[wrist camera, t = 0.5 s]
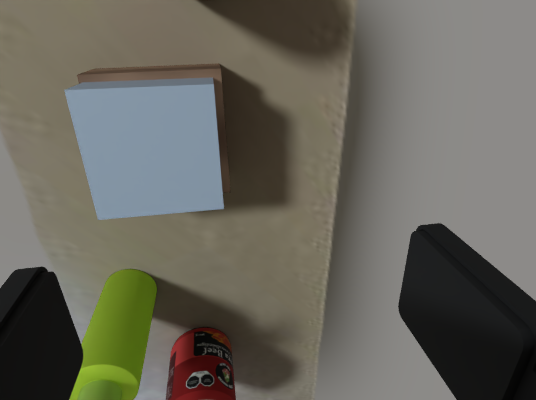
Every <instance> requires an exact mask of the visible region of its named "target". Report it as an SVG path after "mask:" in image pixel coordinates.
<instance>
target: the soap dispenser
mask: <svg viewBox="0 0 536 400" xmlns="http://www.w3.org/2000/svg"><path fill="white" fill-rule="evenodd" d="M156 293H157V286H156V283H155V281H154V280H153V279H152V277H151V276H149V275H148V274H146V273H145V272H142V271H139V270H134V269H126V270H121V271H118V272H116V273H114V274H112V275H111V276H110V277H109V278H108V279H107V281H106V283H105V286H104V288H103V291H102V293H101V296H100V298H99V301H98V303H97V306H96V308H95V311H94V314H93V316H92V319H91V321H90V324H89V326H88V329H87V331H86V334H85V336H84V339H83V341H82V344H81V346H82V348H83V363H82V366H81V369H80V372H79V374H78V377H77V380H76V383H75V385H74V388H73V391H72V394H71V396H70V400H133V399H134V398H135V397H136V395H137V393H138V390H139V385H140V379H141V374H142V369H143V363H144V358H145V353H146V347H147V342H148V336H149V331H150V326H151V320H152V315H153V309H154V304H155V299H156Z"/></svg>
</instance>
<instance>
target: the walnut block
mask: <svg viewBox="0 0 536 400" xmlns="http://www.w3.org/2000/svg"><path fill="white" fill-rule="evenodd" d="M77 77H78V81H79V84H80V83H82V82H106V81H133V80H159V79H186V78H212V77H213V83H214V94H215V106H216V118H217V131H218V143H219V155H220V168H221V180H222V192H223V193H228V192H231V190H230V177H229V165H228V152H227V140H226V127H225V114H224V102H223V89H222V77H221V68H220V65H219V64H199V65H174V66H150V67H126V68H102V69H92V70H89V71H87V72H84V73H81V74H78V75H77Z"/></svg>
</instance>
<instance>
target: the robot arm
mask: <svg viewBox="0 0 536 400" xmlns="http://www.w3.org/2000/svg"><path fill="white" fill-rule="evenodd" d="M398 307H399V313H400V315H401V318H402V319H403V321H404V322H405V324H406V325H407V327H408V328H409V330H410V331H411V333H412V334H413V336H414V337H415V339H416V340H417V341H418V343H419V344H420V346H421V347H422V349H423V350H424V352H425V353H426V355H427V356H428V358H429V359H430V361H431V362H432V364H433V365H434V367H435V368H436V370H437V371H438V372H439V374H440V376H441V377H442V379H443V380H444V382H445V383H446V385H447V386H448V387H449V389H450V390H451V392H452V393H453V395H454V396H455V398H456V399H457V400H536V301H535V300H533V299H532V298H531V297H530V296H529V295H528V294H526V293H525V292H524V291H523V290H521V289H520V288H519V287H518V286H517V285H516V284H514V283H513V282H512V281H511V280H510V279H508V278H507V277H506V276H505V275H503V274H502V273H501V272H500V271H499V270H497V269H496V268H495V267H494V266H493V265H491V264H490V263H489V262H488V261H487V260H485V259H484V258H483V257H482V256H481V255H479V254H478V253H477V252H476V251H474V250H473V249H472V248H471V247H470V246H469V245H467V244H466V243H465V242H464V241H462V240H461V239H460V238H459V237H458V236H457V235H455V234H454V233H453V232H452V231H450V230H449V229H448V228H447V227H445V226H444V225H443V224H439V223H438V224H428V225H420V226H418V228H417V229H416V231H414V232H413V233H412V234H411V238H410V244H409V249H408V255H407V261H406V266H405V271H404V277H403V282H402V288H401V294H400V299H399V306H398ZM82 363H83V348H82V346H81V343H80V340H79V337H78V335H77V332H76V329H75V326H74V324H73V321H72V318H71V315H70V313H69V310H68V307H67V304H66V302H65V299H64V296H63V293H62V291H61V288H60V285H59V282H58V280H57V277H56V275H55V273H54V272H48V271H47V269H46V268H45V267H36V268H25V269H18V270H15V271H14V272H13V273H12V274H11V275H10V276H9V278H8V279H7V280H6V282H5V283H4V284H3V285H2V287H1V288H0V400H69V399H70V396H71V394H72V391H73V388H74V385H75V383H76V380H77V377H78V374H79V372H80V369H81V366H82Z"/></svg>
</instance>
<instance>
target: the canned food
mask: <svg viewBox="0 0 536 400" xmlns="http://www.w3.org/2000/svg"><path fill="white" fill-rule="evenodd" d="M166 400H236V396H235V385H234V373H233V362H232V350H231V344H230V342H229V340H228V338H227V337H226V335H225V334H224V333H222V332H221V331H219V330H216V329H213V328H197V329H193V330H190V331H188V332H186V333H184V334H183V335H181V336H180V337H179V338H178V339H177V341H176V342H175V344H174V346H173V348H172V351H171V357H170V366H169V375H168V384H167V393H166Z"/></svg>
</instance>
